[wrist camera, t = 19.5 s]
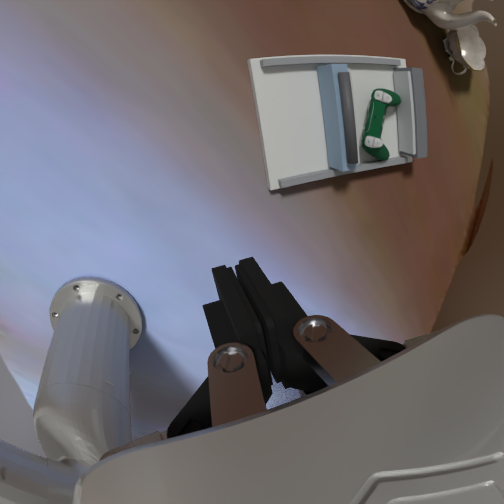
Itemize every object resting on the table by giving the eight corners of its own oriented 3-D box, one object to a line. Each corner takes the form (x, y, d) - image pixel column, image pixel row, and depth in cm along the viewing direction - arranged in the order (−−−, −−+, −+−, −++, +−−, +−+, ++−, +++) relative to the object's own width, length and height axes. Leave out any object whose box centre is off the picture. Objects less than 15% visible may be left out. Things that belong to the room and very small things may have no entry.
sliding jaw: (345, 162, 36) (367, 170, 32) (328, 166, 35) (349, 173, 31) (335, 66, 30) (357, 63, 26) (316, 66, 30) (337, 62, 26)
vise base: (407, 160, 40) (429, 167, 36) (267, 188, 36) (282, 198, 32) (400, 59, 33) (423, 58, 29) (247, 60, 29) (260, 53, 25)
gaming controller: (374, 90, 35) (369, 78, 30) (402, 97, 33) (401, 86, 28) (361, 154, 38) (354, 152, 33) (388, 162, 37) (385, 161, 32)
